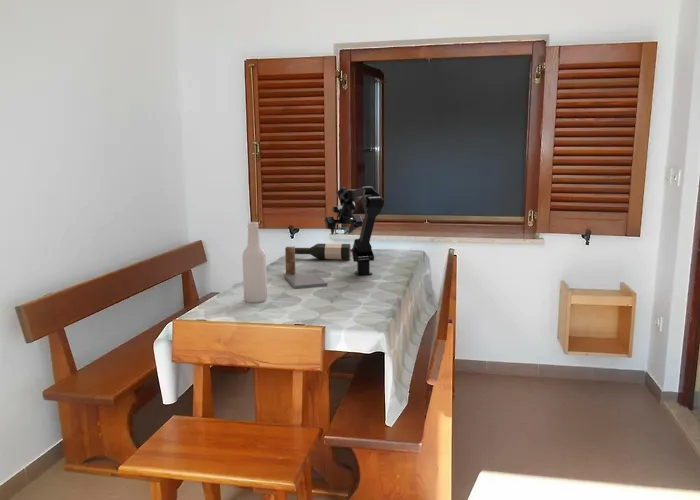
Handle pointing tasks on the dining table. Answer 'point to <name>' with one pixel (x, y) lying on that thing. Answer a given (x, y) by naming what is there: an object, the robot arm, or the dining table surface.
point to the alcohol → (254, 267)
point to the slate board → (305, 280)
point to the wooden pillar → (290, 260)
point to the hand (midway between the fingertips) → (340, 233)
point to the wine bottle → (327, 251)
